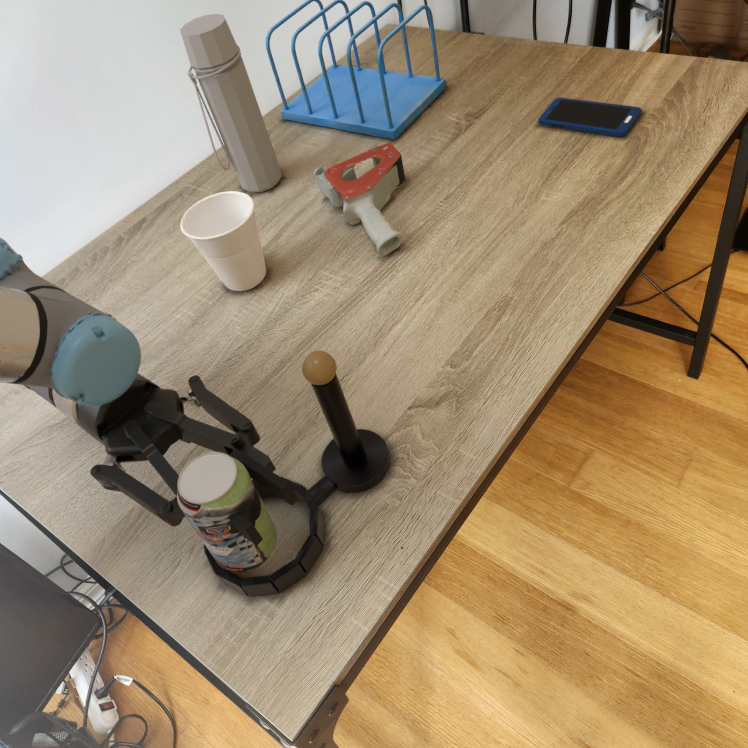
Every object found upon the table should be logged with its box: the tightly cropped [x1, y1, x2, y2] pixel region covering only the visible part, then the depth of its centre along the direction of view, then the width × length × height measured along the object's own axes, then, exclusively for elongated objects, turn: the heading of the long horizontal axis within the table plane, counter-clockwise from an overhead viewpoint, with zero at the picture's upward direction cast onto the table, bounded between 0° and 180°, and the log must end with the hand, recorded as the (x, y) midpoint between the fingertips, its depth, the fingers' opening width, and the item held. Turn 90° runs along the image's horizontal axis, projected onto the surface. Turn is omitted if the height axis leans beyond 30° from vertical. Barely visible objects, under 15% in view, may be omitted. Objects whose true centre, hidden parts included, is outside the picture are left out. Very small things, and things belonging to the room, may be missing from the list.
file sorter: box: [265, 0, 447, 140], centre depth 111 cm, size 25×17×15 cm
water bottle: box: [179, 13, 283, 194], centre depth 97 cm, size 9×8×25 cm
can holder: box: [203, 350, 391, 598], centre depth 59 cm, size 13×20×17 cm, turn 152°
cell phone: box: [537, 97, 642, 138], centre depth 100 cm, size 7×14×1 cm, turn 56°
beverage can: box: [176, 451, 278, 573], centre depth 56 cm, size 6×7×12 cm
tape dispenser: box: [313, 142, 406, 257], centre depth 94 cm, size 18×5×20 cm
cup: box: [180, 190, 267, 292], centre depth 87 cm, size 10×10×11 cm
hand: (272, 514), depth 53 cm, fingers closed on beverage can, 4 cm apart
